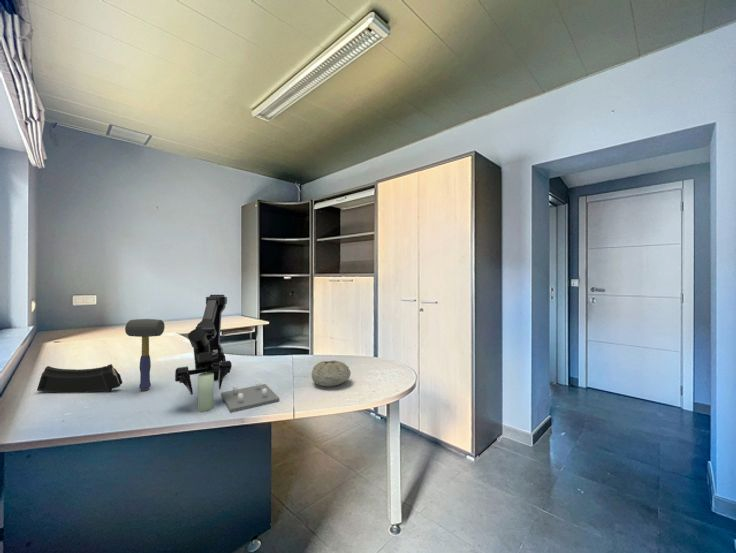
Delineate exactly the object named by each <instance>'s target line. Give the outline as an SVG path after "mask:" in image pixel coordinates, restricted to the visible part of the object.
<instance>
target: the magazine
mask: <svg viewBox="0 0 736 553" xmlns="http://www.w3.org/2000/svg"><path fill="white" fill-rule="evenodd" d="M122 384H123V380H122V377H121V374H120V373H119V372H118V371H117V369H116V368H115V367H114V366H113V364H112V363H111V364H108V365H105V366H101V367H96V368H94V367H93V368H86V369H84V368H83V369H72V368H68V369H67V368H58V367H53V366H49V365H47V366H46V367H45V368H44V370H43V372H42V373H41V376H40V378H39V382H38V385H37V388H36V391H37V392H38V391H43V392H48V393H49V392H50V393H51V392H52V393H60V394H85V393H87V394H88V393H96V392H103V391H108V392H110V393H111V392H112V391H113V389H116V388H119V387H121V385H122Z"/></svg>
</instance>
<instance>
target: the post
mask: <svg viewBox="0 0 736 553" xmlns="http://www.w3.org/2000/svg"><path fill="white" fill-rule="evenodd" d="M214 385H215V380H214V373H211V372H208V373H207V372H206V373H200V374H197V411H198V410H199V411H198V412H208V411H210V409H211V410H213V409H214V401H215V400H214V399H215V398H214V395H215V392H214V390H215V386H214ZM212 408H213V409H212ZM207 410H208V411H207Z"/></svg>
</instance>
